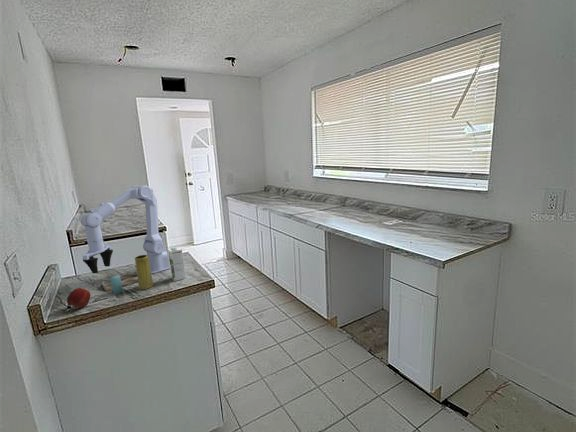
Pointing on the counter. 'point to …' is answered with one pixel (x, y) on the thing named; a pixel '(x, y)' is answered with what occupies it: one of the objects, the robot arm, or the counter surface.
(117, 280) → the peg
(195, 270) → the counter surface
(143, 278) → the vase
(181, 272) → the syrup box
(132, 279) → the brown tray
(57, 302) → the counter surface
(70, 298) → the apple
